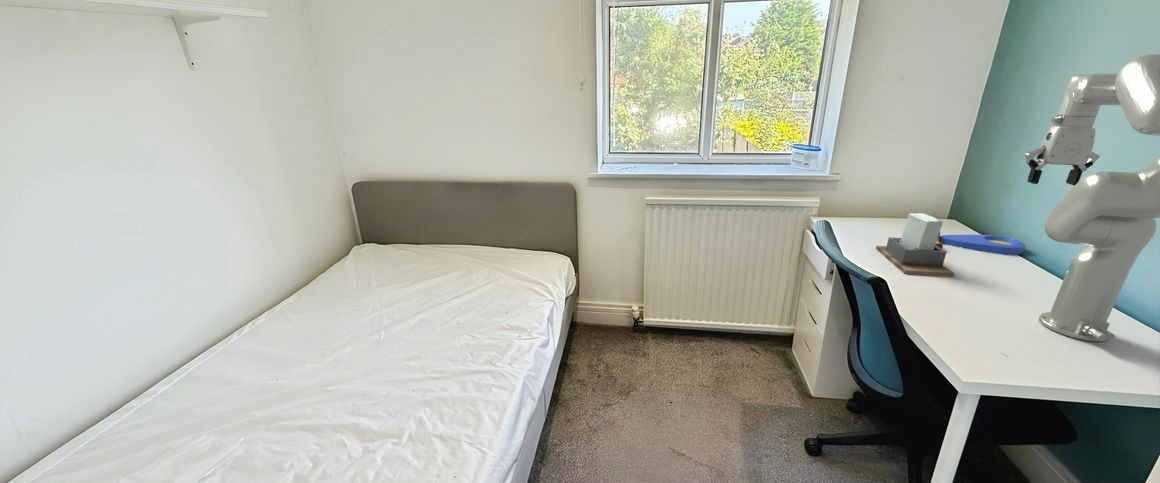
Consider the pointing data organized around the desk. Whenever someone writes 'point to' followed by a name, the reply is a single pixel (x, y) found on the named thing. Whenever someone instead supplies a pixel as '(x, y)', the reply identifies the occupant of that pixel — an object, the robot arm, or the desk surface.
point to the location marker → (985, 243)
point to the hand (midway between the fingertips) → (1051, 183)
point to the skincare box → (920, 232)
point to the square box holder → (915, 259)
